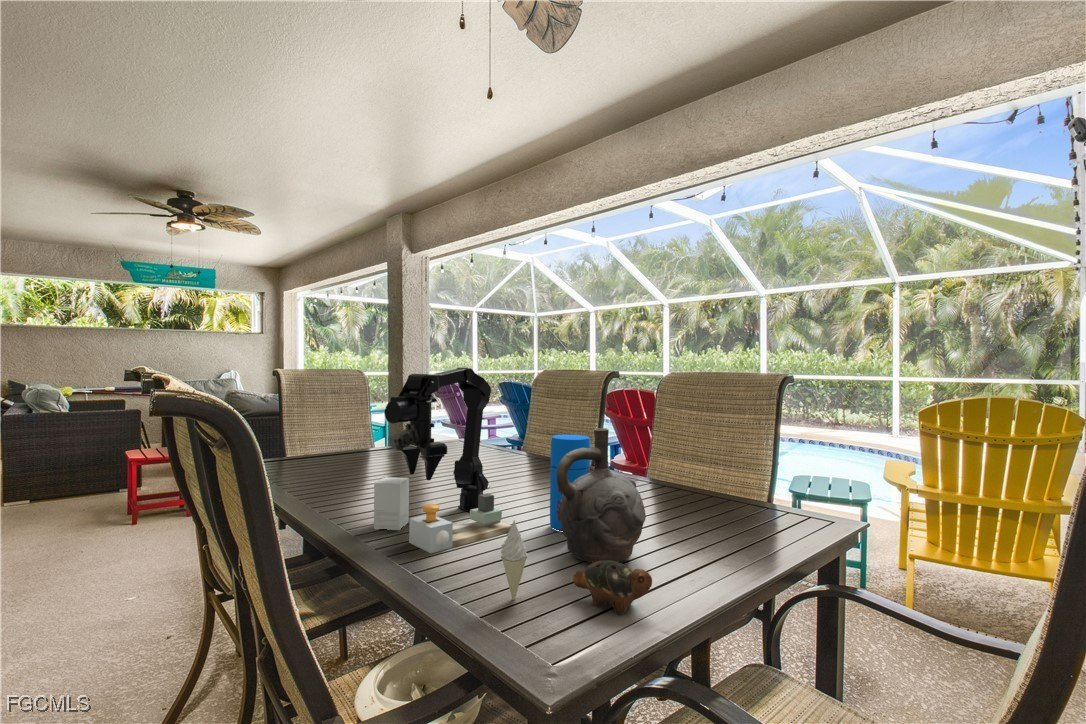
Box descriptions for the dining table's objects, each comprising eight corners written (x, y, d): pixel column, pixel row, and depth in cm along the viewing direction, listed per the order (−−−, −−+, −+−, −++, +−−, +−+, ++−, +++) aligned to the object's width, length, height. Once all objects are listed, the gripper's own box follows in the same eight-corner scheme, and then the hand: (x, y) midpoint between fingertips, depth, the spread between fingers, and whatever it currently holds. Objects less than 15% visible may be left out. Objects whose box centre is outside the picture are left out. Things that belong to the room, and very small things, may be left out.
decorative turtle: (646, 626, 88) (647, 579, 88) (564, 608, 94) (564, 564, 94) (657, 602, 97) (657, 560, 97) (581, 588, 103) (581, 547, 103)
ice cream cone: (500, 593, 99) (501, 516, 100) (526, 593, 100) (527, 516, 100) (500, 605, 94) (501, 524, 95) (527, 605, 95) (528, 523, 95)
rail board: (488, 522, 145) (489, 513, 145) (511, 531, 138) (512, 521, 138) (430, 537, 132) (430, 526, 132) (452, 547, 124) (452, 536, 124)
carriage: (487, 514, 142) (488, 491, 142) (501, 519, 138) (501, 495, 138) (470, 519, 138) (470, 494, 138) (483, 524, 133) (484, 499, 134)
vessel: (616, 588, 103) (618, 438, 103) (529, 563, 115) (531, 429, 116) (663, 553, 123) (664, 428, 123) (584, 535, 135) (586, 421, 136)
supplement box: (409, 522, 144) (410, 477, 144) (399, 531, 136) (400, 483, 136) (383, 521, 144) (384, 476, 144) (372, 529, 137) (373, 482, 137)
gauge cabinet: (430, 537, 132) (430, 513, 132) (452, 547, 124) (453, 523, 124) (409, 542, 127) (409, 518, 127) (431, 553, 120) (431, 528, 120)
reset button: (433, 519, 129) (433, 503, 129) (442, 522, 126) (442, 506, 126) (419, 522, 126) (419, 506, 126) (428, 526, 123) (428, 509, 123)
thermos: (543, 530, 139) (545, 438, 139) (557, 519, 148) (559, 433, 149) (582, 536, 134) (583, 440, 135) (593, 524, 144) (595, 436, 145)
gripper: (377, 418, 141) (376, 475, 141) (409, 425, 127) (409, 488, 127) (414, 416, 148) (413, 470, 148) (448, 422, 134) (448, 481, 134)
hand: (420, 477), depth 139 cm, fingers open, 9 cm apart
